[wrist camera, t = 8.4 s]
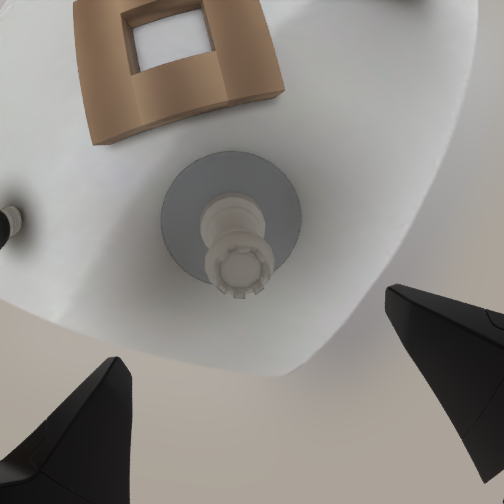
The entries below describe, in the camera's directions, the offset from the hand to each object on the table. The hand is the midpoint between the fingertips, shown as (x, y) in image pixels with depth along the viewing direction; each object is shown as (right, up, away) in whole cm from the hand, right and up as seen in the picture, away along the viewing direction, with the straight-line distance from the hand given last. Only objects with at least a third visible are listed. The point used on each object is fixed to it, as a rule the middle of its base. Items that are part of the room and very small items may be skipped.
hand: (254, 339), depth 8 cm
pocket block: (-6, +17, +6) cm, 19 cm away
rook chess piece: (-1, +5, +11) cm, 12 cm away
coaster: (-2, +5, +12) cm, 13 cm away
